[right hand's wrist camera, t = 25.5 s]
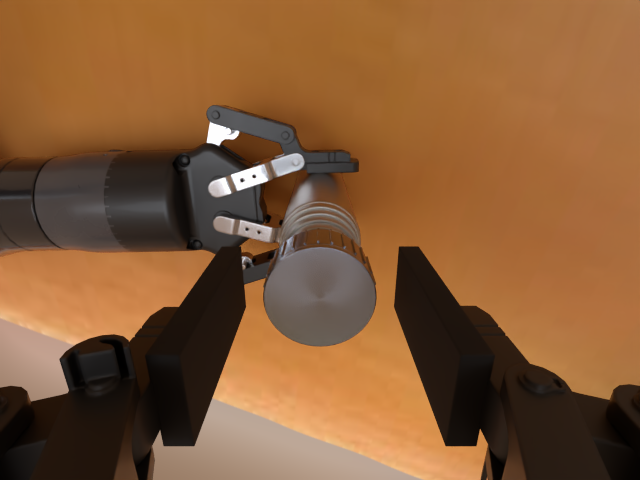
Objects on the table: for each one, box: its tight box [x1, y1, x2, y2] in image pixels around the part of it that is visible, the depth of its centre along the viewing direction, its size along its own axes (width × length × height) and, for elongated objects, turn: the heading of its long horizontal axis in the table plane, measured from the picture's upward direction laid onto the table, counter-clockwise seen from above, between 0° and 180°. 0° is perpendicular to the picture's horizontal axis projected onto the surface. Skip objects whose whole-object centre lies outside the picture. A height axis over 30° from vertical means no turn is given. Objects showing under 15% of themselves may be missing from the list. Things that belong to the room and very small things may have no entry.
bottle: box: [279, 170, 361, 248], centre depth 23 cm, size 4×4×21 cm
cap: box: [263, 228, 376, 346], centre depth 14 cm, size 4×4×2 cm
